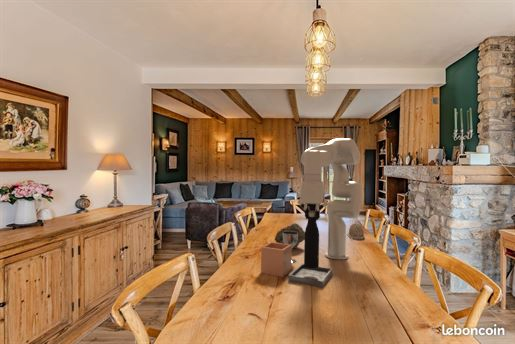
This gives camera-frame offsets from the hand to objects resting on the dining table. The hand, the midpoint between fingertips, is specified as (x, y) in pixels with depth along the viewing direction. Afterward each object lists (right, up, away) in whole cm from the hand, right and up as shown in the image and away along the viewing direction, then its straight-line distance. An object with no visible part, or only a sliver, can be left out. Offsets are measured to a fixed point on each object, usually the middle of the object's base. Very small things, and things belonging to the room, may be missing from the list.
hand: (312, 218), depth 136 cm
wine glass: (-7, -26, +24) cm, 36 cm away
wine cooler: (-15, -26, +8) cm, 31 cm away
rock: (-6, -26, +48) cm, 55 cm away
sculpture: (+46, -26, +83) cm, 98 cm away
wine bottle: (0, -21, 0) cm, 21 cm away
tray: (0, -26, +1) cm, 26 cm away
